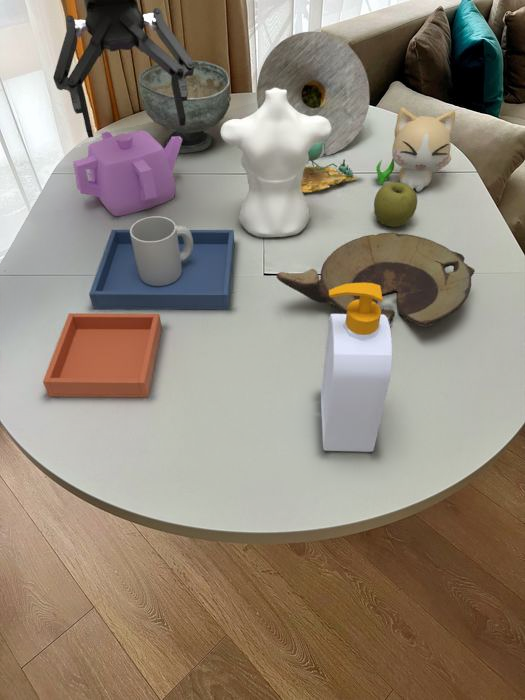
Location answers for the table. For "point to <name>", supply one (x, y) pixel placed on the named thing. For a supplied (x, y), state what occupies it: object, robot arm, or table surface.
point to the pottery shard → (392, 276)
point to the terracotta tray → (104, 356)
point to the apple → (395, 204)
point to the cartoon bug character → (323, 172)
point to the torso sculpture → (275, 163)
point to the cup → (159, 249)
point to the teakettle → (128, 171)
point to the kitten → (419, 148)
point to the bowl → (187, 102)
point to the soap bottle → (355, 371)
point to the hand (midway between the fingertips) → (137, 128)
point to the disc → (319, 83)
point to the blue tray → (186, 293)
